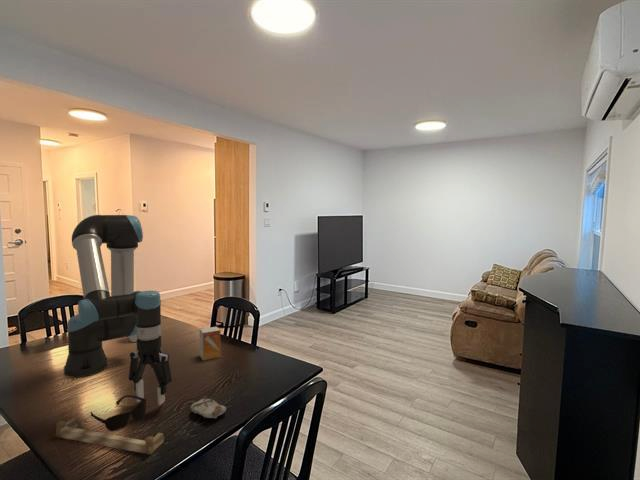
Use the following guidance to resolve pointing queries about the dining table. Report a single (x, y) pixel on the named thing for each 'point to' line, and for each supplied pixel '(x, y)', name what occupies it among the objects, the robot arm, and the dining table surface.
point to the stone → (208, 408)
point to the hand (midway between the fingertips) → (150, 401)
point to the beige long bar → (108, 438)
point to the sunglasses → (123, 415)
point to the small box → (209, 343)
